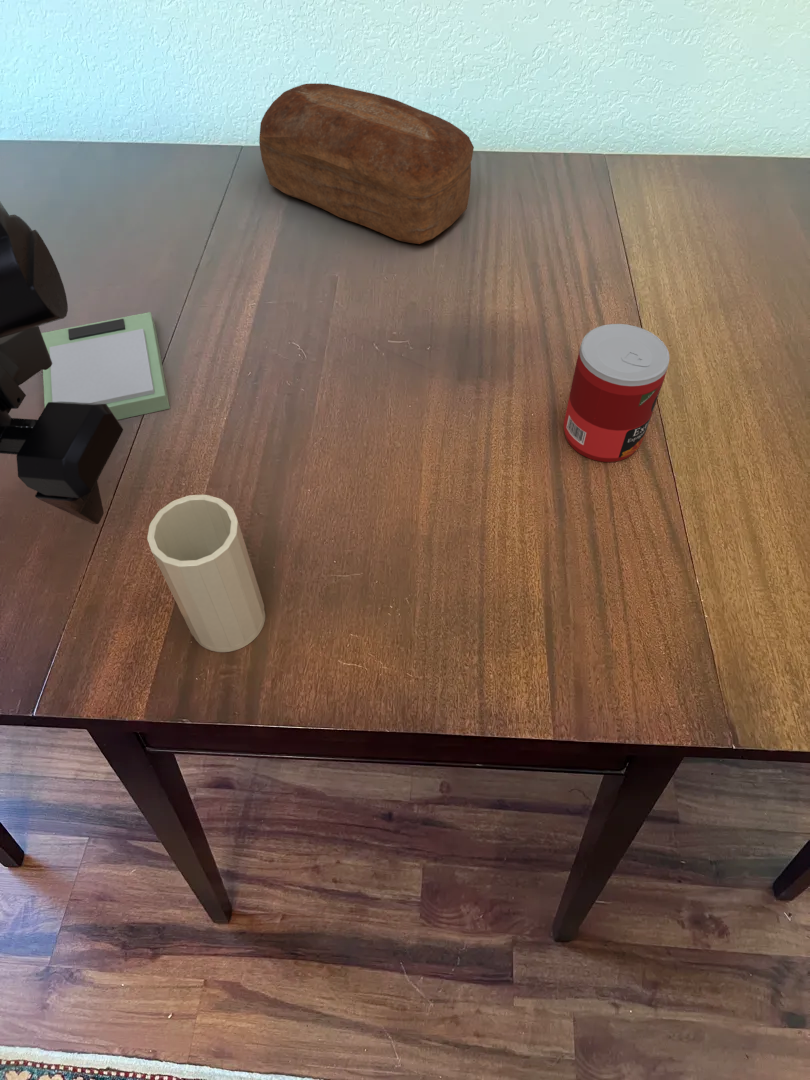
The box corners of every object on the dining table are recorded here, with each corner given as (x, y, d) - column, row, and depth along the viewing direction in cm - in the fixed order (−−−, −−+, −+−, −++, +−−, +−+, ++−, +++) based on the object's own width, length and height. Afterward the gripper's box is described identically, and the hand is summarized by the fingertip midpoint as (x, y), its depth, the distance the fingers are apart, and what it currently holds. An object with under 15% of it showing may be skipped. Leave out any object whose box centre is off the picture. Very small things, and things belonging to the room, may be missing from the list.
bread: (424, 264, 96) (425, 167, 86) (252, 193, 105) (235, 98, 95) (484, 210, 102) (491, 115, 92) (317, 148, 112) (307, 55, 102)
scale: (170, 409, 82) (163, 390, 79) (52, 434, 80) (42, 416, 78) (155, 325, 89) (149, 307, 87) (47, 347, 88) (38, 328, 85)
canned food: (634, 473, 76) (663, 389, 67) (553, 452, 77) (571, 368, 68) (648, 419, 80) (677, 333, 71) (571, 400, 82) (590, 315, 73)
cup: (223, 667, 64) (185, 582, 54) (174, 621, 67) (129, 532, 56) (280, 616, 67) (255, 526, 56) (232, 574, 69) (199, 480, 59)
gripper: (96, 269, 47) (195, 437, 60) (-148, 268, 52) (-7, 424, 65) (10, 407, 41) (140, 560, 54) (-255, 392, 46) (-78, 536, 59)
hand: (45, 513), depth 58 cm, fingers open, 9 cm apart
